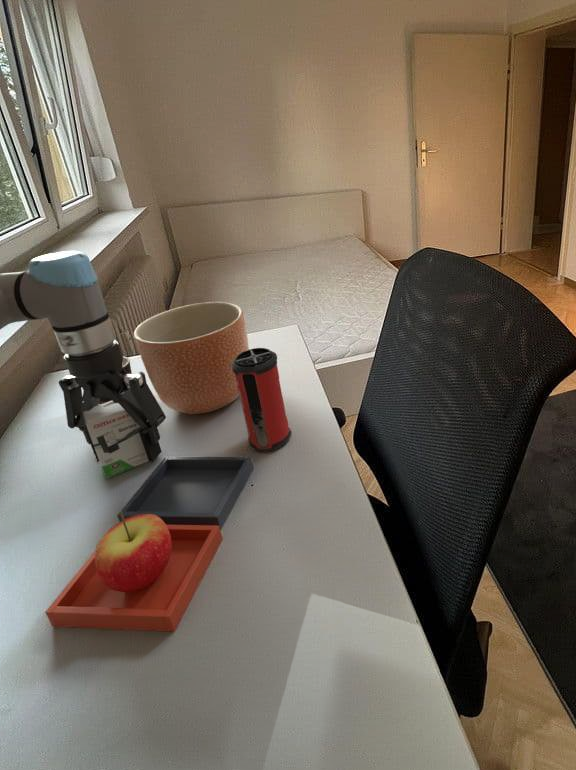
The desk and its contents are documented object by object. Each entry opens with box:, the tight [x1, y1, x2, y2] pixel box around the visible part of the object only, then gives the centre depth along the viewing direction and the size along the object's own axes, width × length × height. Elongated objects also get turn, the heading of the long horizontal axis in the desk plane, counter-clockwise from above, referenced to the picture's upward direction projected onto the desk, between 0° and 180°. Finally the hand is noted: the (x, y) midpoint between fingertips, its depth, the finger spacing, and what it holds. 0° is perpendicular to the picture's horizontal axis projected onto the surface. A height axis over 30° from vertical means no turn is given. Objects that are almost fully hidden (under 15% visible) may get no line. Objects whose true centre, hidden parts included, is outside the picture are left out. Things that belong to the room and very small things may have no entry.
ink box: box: [83, 401, 149, 480], centre depth 78 cm, size 9×5×12 cm, turn 129°
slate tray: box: [116, 456, 255, 531], centre depth 71 cm, size 16×13×3 cm
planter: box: [133, 301, 250, 415], centre depth 95 cm, size 21×21×19 cm
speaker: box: [231, 347, 292, 452], centre depth 81 cm, size 8×8×18 cm
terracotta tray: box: [44, 525, 224, 632], centre depth 58 cm, size 16×13×3 cm
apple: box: [95, 510, 172, 592], centre depth 57 cm, size 8×8×10 cm
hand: (129, 456), depth 80 cm, fingers closed on ink box, 9 cm apart
